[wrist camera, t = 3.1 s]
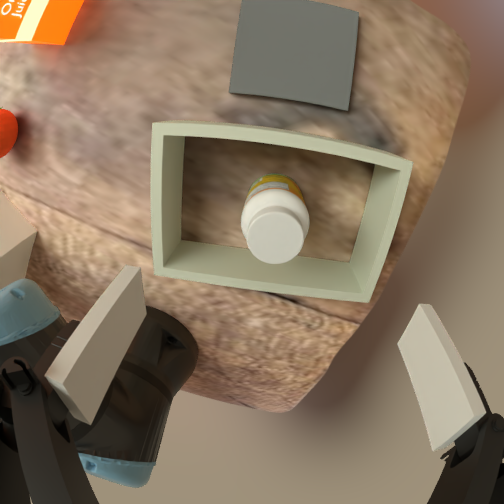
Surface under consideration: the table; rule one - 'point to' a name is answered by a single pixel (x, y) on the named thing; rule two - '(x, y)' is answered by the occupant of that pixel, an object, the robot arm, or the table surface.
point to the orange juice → (37, 20)
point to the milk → (14, 242)
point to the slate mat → (295, 51)
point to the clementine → (7, 131)
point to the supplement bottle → (275, 219)
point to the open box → (242, 260)
